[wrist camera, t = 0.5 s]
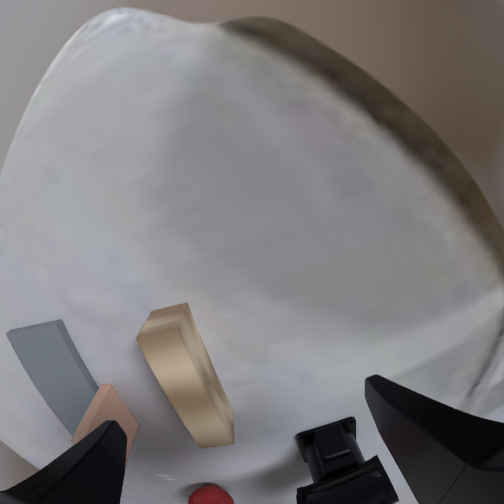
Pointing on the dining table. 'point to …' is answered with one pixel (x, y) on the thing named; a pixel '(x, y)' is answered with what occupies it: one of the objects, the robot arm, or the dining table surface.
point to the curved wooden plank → (187, 374)
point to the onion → (210, 496)
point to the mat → (55, 370)
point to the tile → (107, 415)
